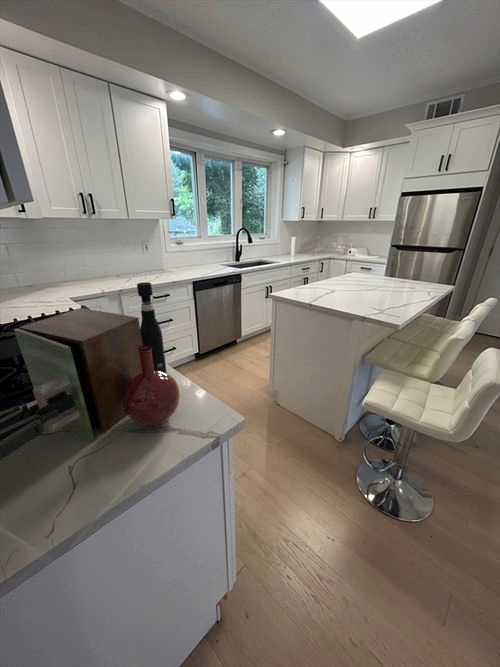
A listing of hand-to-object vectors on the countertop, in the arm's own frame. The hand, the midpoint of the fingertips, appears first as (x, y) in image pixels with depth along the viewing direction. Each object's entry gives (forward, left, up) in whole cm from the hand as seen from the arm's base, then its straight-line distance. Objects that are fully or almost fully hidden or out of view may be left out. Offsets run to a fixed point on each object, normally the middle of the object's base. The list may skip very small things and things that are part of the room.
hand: (69, 398), depth 58 cm
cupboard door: (-8, -1, -12) cm, 14 cm away
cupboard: (-7, +12, -12) cm, 18 cm away
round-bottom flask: (+10, +13, -12) cm, 20 cm away
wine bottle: (-3, +30, -12) cm, 32 cm away
